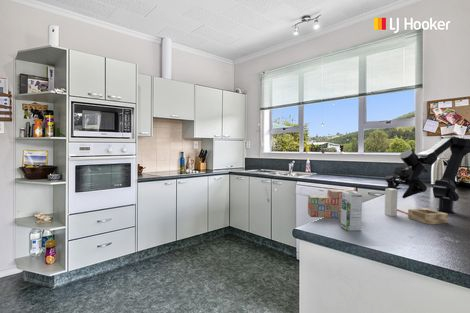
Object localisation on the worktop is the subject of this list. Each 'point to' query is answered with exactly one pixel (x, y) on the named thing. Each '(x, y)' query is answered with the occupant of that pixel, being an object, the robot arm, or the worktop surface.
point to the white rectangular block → (391, 202)
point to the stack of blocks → (326, 204)
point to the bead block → (427, 216)
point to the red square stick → (402, 211)
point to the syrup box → (351, 210)
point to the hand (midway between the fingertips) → (394, 195)
